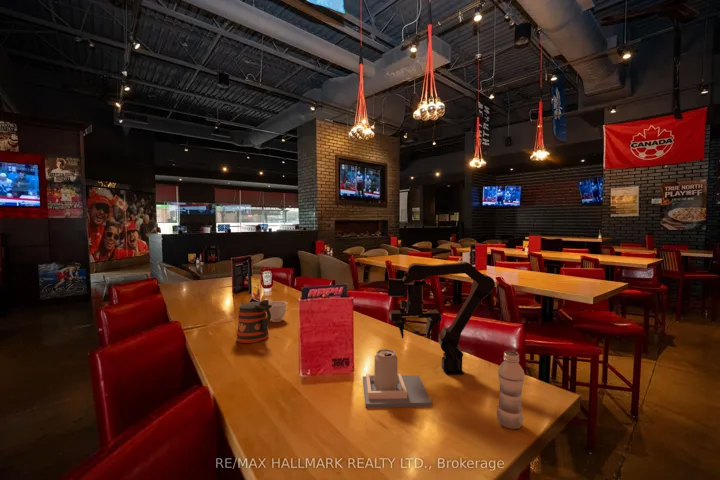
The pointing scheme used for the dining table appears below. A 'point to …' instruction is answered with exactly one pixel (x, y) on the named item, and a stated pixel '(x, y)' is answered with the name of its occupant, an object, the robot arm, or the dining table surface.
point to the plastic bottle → (510, 391)
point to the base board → (396, 393)
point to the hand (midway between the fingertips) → (414, 337)
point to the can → (385, 370)
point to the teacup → (277, 310)
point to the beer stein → (253, 321)
